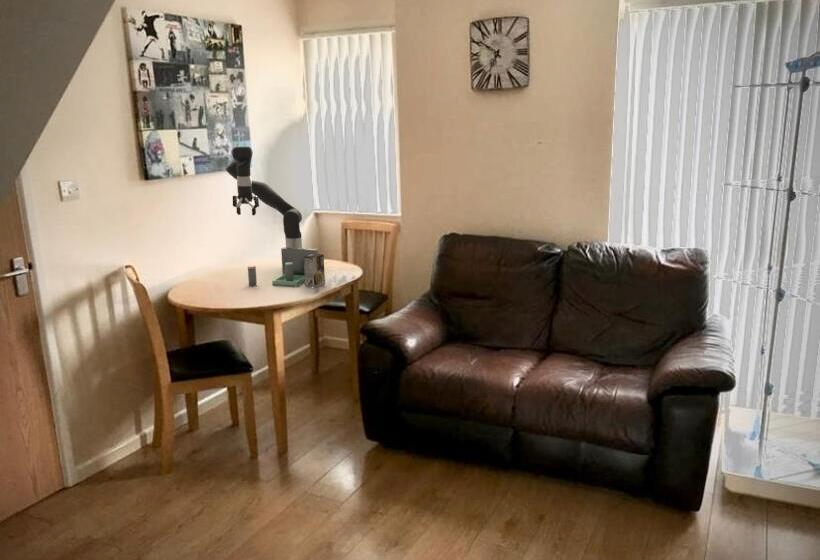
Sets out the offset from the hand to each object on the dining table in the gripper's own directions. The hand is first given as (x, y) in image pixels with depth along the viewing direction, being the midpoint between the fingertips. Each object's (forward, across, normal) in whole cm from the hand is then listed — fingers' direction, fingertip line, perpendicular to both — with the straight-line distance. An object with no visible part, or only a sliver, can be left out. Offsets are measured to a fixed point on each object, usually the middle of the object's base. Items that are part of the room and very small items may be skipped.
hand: (246, 215), depth 360 cm
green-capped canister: (+34, +27, -8) cm, 44 cm away
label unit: (+34, +28, +4) cm, 44 cm away
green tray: (+34, +27, -8) cm, 44 cm away
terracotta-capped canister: (+34, +10, -17) cm, 39 cm away
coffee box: (+34, +42, -10) cm, 55 cm away
